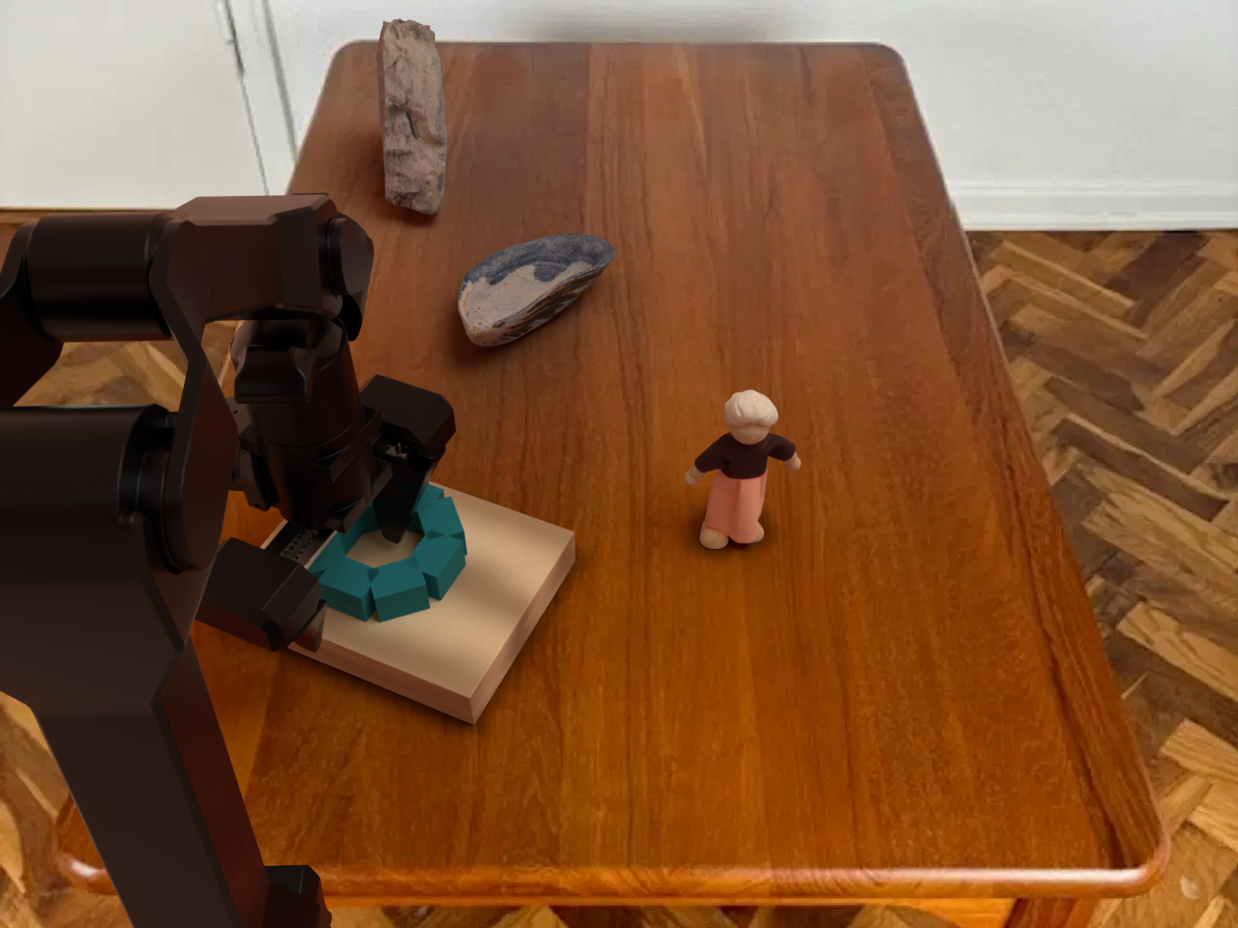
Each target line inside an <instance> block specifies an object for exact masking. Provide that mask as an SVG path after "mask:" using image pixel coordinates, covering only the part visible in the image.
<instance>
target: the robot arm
mask: <svg viewBox="0 0 1238 928" xmlns="http://www.w3.org/2000/svg"><path fill="white" fill-rule="evenodd" d="M374 261H375V246H374V243H373V239H372V238H371V237H370V236H369V235H368V233H367V231H366V230H365V229H364V228H363V227H362V226H361V224H359V222H357V221H356V220H354V219H353V218H351V217H350V216H348V215H347V214H345V213H342V212H340V211H338V209H337V205H336V204H335V201H333V200H332V199H331V197H329V193H328V192H292V193H291V194H275V195H274V194H269V195H218V196H217V195H213V196H210V195H205V196H196V197H194V198H192V199H190V200H188V201H187V202H184V203H183V204H181V205H179V206H177V207H176V208H175V210H174V211H172V214H170V213H169V212H167V211H164V210H163V211H162V210H159V211H157V210H156V211H153V210H152V211H105V212H103V211H100V212H99V211H98V212H97V211H95V212H94V211H93V212H50V213H47V214H45V215H43V216H40V217H39V219H38V220H37V221H27V222H25V223H22V224H21V225H18V227H17V228H16V230H15V233H14V234H13V236H12V237H11V240H10V243H9V246H8V249H7V252H6V255H5V258H4V260H3V263H2V266H1V269H0V692H1V693H3V694H5V695H6V696H9V697H10V698H12V699H14V700H16V701H18V702H20V703H22V704H23V705H25V706H27V708H29V709H30V711H31V713H32V715H33V717H34V719H35V722H36V724H37V726H38V728H39V730H40V732H41V734H42V737H43V739H44V741H45V743H46V745H47V747H48V749H49V751H50V754H51V756H52V758H53V760H54V763H55V764H56V766H57V768H58V771H59V773H60V775H61V778H62V780H63V782H64V784H65V786H66V788H67V791H68V793H69V795H70V797H71V800H72V801H73V803H74V805H75V807H76V809H77V812H78V814H79V816H80V819H81V820H82V822H83V825H84V827H85V829H86V832H87V833H88V835H89V838H90V840H91V843H92V844H93V846H94V848H95V851H96V853H97V855H98V857H99V859H100V861H101V863H102V866H103V868H104V870H105V872H106V874H107V877H108V878H109V880H110V881H109V882H110V883H111V885H112V887H113V889H114V892H115V893H116V896H117V898H118V900H119V902H120V904H121V906H122V909H123V911H124V913H125V916H126V917H127V920H128V923H129V924H130V927H131V928H332V926H331V924H332V922H333V921H332V920H333V913H332V912H331V911H330V910H328V906H327V904H326V901H325V900H326V899H325V897H324V890H323V884H322V879H321V876H320V875H319V874H318V873H317V872H316V871H315V869H313V868H312V867H311V866H310V865H309V864H281V865H279V864H278V865H275V864H274V865H265V863H264V861H263V857H262V854H261V851H260V849H259V844H258V842H257V838H256V836H255V832H254V829H253V825H252V822H251V819H250V816H249V813H248V810H247V808H246V807H247V806H246V803H245V801H244V797H243V795H242V792H241V789H240V785H239V783H238V779H237V776H236V773H235V770H234V766H233V764H232V760H231V758H230V754H229V750H228V748H227V745H226V742H225V741H226V740H225V739H224V736H223V735H224V734H223V732H222V730H221V726H220V723H219V719H218V717H217V714H216V711H215V708H214V703H213V701H212V698H211V695H210V692H209V688H208V686H207V683H206V678H205V676H204V673H203V669H202V666H201V663H200V661H199V657H198V654H197V651H196V648H195V645H194V642H193V638H192V636H191V635H192V634H191V631H192V627H193V625H194V622H195V621H197V622H199V623H202V624H204V625H207V626H209V627H210V628H211V627H212V628H214V629H216V630H219V631H221V632H223V633H226V634H228V635H230V636H233V637H236V638H238V639H240V640H243V641H245V642H247V643H250V644H251V645H254V646H256V647H260V648H262V649H264V650H266V651H269V652H272V653H273V652H276V651H281V650H284V649H288V648H287V647H288V646H289V645H290V644H291V642H295V643H296V644H297V645H299V646H300V647H301V648H303V649H306V650H308V651H311V652H313V653H316V652H317V651H318V650H319V648H320V644H321V640H322V635H323V628H324V621H325V615H326V608H327V601H326V600H324V599H321V598H320V595H321V589H320V586H319V582H318V580H317V579H316V578H315V577H314V576H313V575H312V574H311V573H310V572H309V571H308V570H307V569H308V568H309V567H310V565H311V564H312V563H313V562H314V560H315V559H316V558H317V557H318V556H319V554H320V553H321V552H322V551H323V549H324V548H325V547H326V546H327V544H328V543H329V542H330V541H331V540H332V538H333V537H334V536H335V535H336V533H337V532H338V531H339V532H341V533H344V534H346V533H347V532H348V530H349V529H350V528H351V527H352V525H353V524H354V523H355V522H356V520H357V519H358V518H359V517H360V515H361V514H362V513H363V512H364V510H365V509H366V508H367V507H368V505H369V504H370V503H371V502H372V504H373V508H374V512H375V515H376V519H377V522H378V525H379V527H380V530H381V532H382V534H383V537H384V538H385V539H386V540H387V541H390V542H392V543H395V544H399V543H400V541H401V540H402V538H403V536H404V534H405V532H406V530H407V527H408V525H409V523H410V521H411V519H412V517H413V514H414V512H415V510H416V508H417V506H418V504H419V502H420V500H421V497H422V495H423V493H424V491H425V489H426V487H427V485H428V483H429V481H431V479H432V477H433V475H434V473H435V471H436V470H437V467H438V465H439V463H440V461H441V459H442V458H443V457H444V455H445V454H446V450H447V444H448V443H449V442H450V440H451V439H452V438H453V437H454V435H455V434H456V433H457V426H456V425H457V424H456V419H455V412H454V411H455V410H454V409H453V406H452V404H451V403H450V402H449V401H448V400H447V399H446V398H445V397H444V396H443V395H442V394H441V393H439V392H435V391H432V390H429V389H426V388H423V387H420V386H417V385H414V384H411V383H407V382H405V381H401V380H398V379H396V378H393V377H389V376H386V375H382V374H378V373H376V374H375V375H373V376H372V377H369V379H367V380H366V381H364V382H363V384H362V385H361V386H360V387H359V383H358V379H357V376H356V375H357V374H356V371H355V370H356V369H355V365H354V362H353V361H354V360H353V355H352V352H351V346H350V342H355V341H356V340H357V338H358V337H359V335H360V332H361V330H362V326H363V321H364V315H365V311H366V305H367V299H368V294H369V288H370V283H371V278H372V277H371V276H372V272H373V265H374ZM233 321H235V322H238V321H243V323H242V324H241V325H240V326H239V327H238V328H237V330H236V332H235V334H234V335H233V337H232V339H231V342H230V345H229V354H230V355H229V356H230V359H231V362H232V365H233V369H234V372H235V376H234V379H233V396H229V397H225V394H224V392H223V390H222V387H221V386H220V383H219V381H218V378H217V376H216V375H215V372H214V370H213V367H212V366H211V363H210V361H209V359H208V356H207V355H206V354H207V353H206V352H205V350H204V348H203V346H202V342H203V337H204V332H205V327H206V325H207V324H210V323H215V322H233ZM169 341H170V342H173V341H174V343H175V345H176V347H177V350H178V352H179V353H180V354H179V355H180V356H181V358H182V360H183V363H184V364H185V366H186V373H185V378H184V382H183V386H182V393H181V397H180V402H179V406H178V410H176V411H171V410H169V409H168V408H167V407H165V406H162V405H160V404H158V403H157V402H155V403H113V404H112V403H110V404H109V403H107V404H106V403H105V404H104V403H103V404H65V405H63V404H62V405H61V404H59V405H54V404H53V405H16V404H17V403H18V402H19V401H20V400H21V399H22V398H23V397H25V395H26V394H27V393H28V392H29V391H30V390H31V389H32V388H34V386H35V385H36V384H37V383H38V382H39V381H41V379H42V378H43V377H44V376H45V375H47V373H48V372H49V371H50V370H51V369H52V368H53V367H54V366H55V365H56V364H57V362H58V360H59V359H60V357H61V355H62V352H63V348H64V345H65V344H66V343H68V344H69V343H114V342H115V343H117V342H121V343H122V342H169ZM230 491H232V492H243V493H244V495H245V499H246V502H247V505H248V507H251V508H254V509H257V510H259V511H262V512H264V513H268V511H270V509H272V508H275V509H278V512H279V514H280V516H281V517H282V518H283V520H284V519H285V520H287V521H288V522H287V523H286V524H285V526H284V527H283V528H282V529H281V530H280V531H279V533H278V534H277V535H276V536H275V537H274V538H273V540H272V541H271V542H270V543H269V544H268V545H267V547H266V548H265V549H262V548H260V547H261V546H258V545H257V546H256V545H254V544H251V543H250V542H246V541H244V540H241V539H239V538H236V537H234V536H231V537H228V538H227V539H225V540H224V541H222V542H221V540H222V539H221V538H222V534H223V527H224V522H225V516H226V511H227V505H228V499H229V493H230Z"/></svg>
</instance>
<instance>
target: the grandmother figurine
mask: <svg viewBox="0 0 1238 928" xmlns="http://www.w3.org/2000/svg"><path fill="white" fill-rule="evenodd" d="M778 419H779V413H778V410H777V408H776V405H774V403H773V402H772V401H771V399H770V398H769V397H768V396H766V395H764V394H763V393H761V392H758V391H756V390H754V389H747V390H744V391H740V392H739V391H738V392H735V393H733V394H732V395H731V397H730V398H729V399H728V400H727V401H726V402H725V404H724V421H725V423H726V424H727V425H728V429H729V432H726V433H724V434H722V435H721V436H720V437H719V438H718V439H716V440H715V441H714V442H712V443H711V445H709V446H708V447H707V448H705V449H704V450H703V451H702V452H701V453H700V454H699V455H698V456H697V457H695V458H694V461H693V463H692V465H691V466H690V468H689V470H688V471H687V472H686V473H685V474H684V476H683V480H684V483H685V484H686V485H687V486H688V487H689V486H690V487H694V486H696V485H698V483H699V482H700V479H703V478H704V476H705V475H706V474H707V473H708V472H712V471H716V472H715V476H714V479H713V483H712V485H711V489H710V492H709V495H708V499H707V506H706V513H705V517H704V521H703V522H702V525H701V529H700V533H699V542H700V544H701V545H702V546H703V547H705V548H707V549H710V550H720V549H723V548H725V547H726V546H727V544H728V543H729V538H730V539H731V540H732V541H734V542H735V543H739V544H755V543H758V542H760V541H762V540H763V538H764V536H765V532H764V528H763V527H762V525H761V523H759V518H760V517H761V515H762V511H763V507H764V506H763V505H764V501H765V495H766V487H767V486H766V485H767V480H768V479H767V478H768V473H769V471H768V461H769V457H770V458H772V459H775V460H778V461H781V462H783V463H784V466H785V468H786V470H788V471H790V472H796V471H798V470H800V468H801V465H802V462H801V459H800V458H799V457H798V454H797V452H796V451H797V445H796V444H795V442H793V441H791V440H788V439H787V438H786V437H784V436H782V435H780V434H776V433H772V432H769V431H770V428H771V427H772V426H774V425H775V424H776V423H777V422H778Z"/></svg>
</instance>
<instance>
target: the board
mask: <svg viewBox="0 0 1238 928" xmlns="http://www.w3.org/2000/svg"><path fill="white" fill-rule="evenodd" d="M428 484H430V485H433V486H436V487H439V488H441V489H443V490H444V496H445V498H446V497H449V496H451V497H452V499H453V502H454V505H455V507H456V510H457V513H458V515H459V518H460V521H461V523H462V526H463V529H464V532H465V539H466V547H467V555H465V561H466V565H465V567H464V568H463V570H462V571H461V573H460V574H459V576H458V577H457V578H456V580H455V581H454V583H453V584H452V586H451V587H450V588H449V590H448V591H447V593H446V594H445V596H444V597H443V599H442V600H441V601H440V600H437V599H434V598H432V597H429V596H428V597H429V603H430V608H429V609H425V610H422V611H419V612H415V613H412V614H408V615H405V616H401V617H398V618H394V619H391V620H387V621H384V622H379V619H378V615H377V612H376V610H375V611H374V613H373V614H372V615H371V617H370V618H369V619H368V621H367V622H365V621H363V620H360V619H358V618H355V617H353V616H350V615H348V614H345V613H343V612H340V611H338V610H335V609H333V608H330V607H328V606H327V608H326V615H325V621H324V628H323V635H322V640H321V644H320V648H319V650H318V651H317V652H316V653H313V652H311V651H308V650H306V649H303V648H301V647H300V646H299V645H297V644H296V643H295V642H291V644H290V645H289V646H288V647H287V648H286V649H289V650H291V651H294V652H296V653H299V654H301V655H303V656H306V657H309V658H310V659H313V660H316V661H318V662H320V663H323V664H325V665H327V666H330V667H333V668H335V669H337V670H340V671H342V672H345V673H347V674H350V675H352V676H354V677H357V678H359V679H362V680H364V681H366V682H369V683H371V684H373V685H376V686H378V687H381V688H383V689H386V690H388V691H390V692H393V693H395V694H398V695H400V696H403V697H404V698H407V699H410V700H412V701H414V702H417V703H419V704H422V705H425V706H426V707H429V708H432V709H434V710H436V711H439V712H440V713H443V714H446V715H449V716H451V717H453V718H455V719H457V720H461V721H463V722H465V723H468V724H469V725H472V726H475V725H476V723H477V721H478V720H479V718H480V717H481V715H482V713H483V712H484V710H485V708H486V707H487V705H488V704H489V702H490V701H491V699H492V697H493V695H494V694H495V693H496V691H497V689H498V687H499V686H500V684H501V683H502V681H503V679H504V678H505V676H506V675H507V673H508V671H509V670H510V668H511V666H512V664H513V663H514V661H515V660H516V658H517V657H518V655H519V653H520V652H521V650H522V648H523V647H524V645H525V643H526V642H527V640H528V639H529V638H530V635H531V634H532V632H533V630H534V629H535V627H536V626H537V624H538V623H539V621H540V620H541V618H542V616H543V614H545V611H546V609H547V608H548V606H549V605H550V603H551V601H552V600H553V598H554V597H555V595H556V593H557V592H558V590H559V588H560V587H561V586H562V584H563V582H564V580H565V579H566V577H567V575H568V574H569V572H570V571H571V570H572V568H573V566H574V564H575V562H576V559H577V558H576V557H577V556H576V555H577V554H576V532H575V531H574V530H570V529H568V528H565V527H563V526H559V525H557V524H554V523H550V522H547V521H545V520H542V519H540V518H537V517H534V516H530V515H528V514H525V513H522V512H519V511H517V510H513V509H510V508H509V507H505V506H503V505H499V504H496V503H494V502H491V501H488V500H485V499H482V498H479V497H477V496H473V495H471V494H468V493H465V492H462V491H460V490H457V489H454V488H451V487H448V486H445V485H443V484H441V483H438V482H437V483H436V482H434V481H431V480H430V481H429V483H428ZM287 522H288V521H287V520H285V519H284V518H283V520H282V521H281V522H280V523H279V524H278V525H277V527H276V528H275V529H274V530H273V531H272V533H270V534H269V536H268V537H267V538H266V539H265V541H264V542H263V543H262V544H261V545H260V546H259V547H260V548H262V549H265V548H266V547H267V545H268V544H269V543H270V542H271V541H272V540H273V538H274V537H275V536H276V535H277V534H278V533H279V531H280V530H281V529H282V528H283V527H284V526H285V524H286V523H287ZM421 540H422V536H421V535H419V534H416V533H413V532H411V531H408V530H406V532H405V534H404V536H403V538H402V540H401V541H400V543H399V544H395V543H392V542H390V541H387V540H386V539H385V538H384V537H383V534H382V532H381V530H380V529H379V530H375V531H371V532H368V533H364V534H362V536H361V537H360V538H359V539H358V541H357V542H356V543H355V544H354V546H353V547H352V548H351V550H350V551H349V552H348V553H347V555H346V557H347V558H350V559H352V560H355V561H358V562H360V563H363V564H366V565H368V566H371V567H373V568H375V567H378V566H382V565H386V564H389V563H393V562H396V561H400V560H404V559H407V558H409V556H410V555H411V553H412V552H413V551H414V549H415V548H416V547H417V545H418V544H419V543H420V541H421ZM307 570H308V569H307ZM320 598H321V596H320ZM321 599H322V598H321Z"/></svg>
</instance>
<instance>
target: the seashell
mask: <svg viewBox="0 0 1238 928" xmlns="http://www.w3.org/2000/svg"><path fill="white" fill-rule="evenodd" d="M615 256H616V249H615V246H614V245H613V244H612V243H611V242H609V240H607V239H604V238H602V237H600V236H597V235H594V234H589V233H588V234H587V233H569V232H567V233H555V234H550V235H546V236H544V237H540V238H536V239H532V240H528V241H525V242H522V243H518V244H514V245H512V246H509V247H506V248H502V249H500V250H498V251H495V252H494V253H493V254H491V255H489V256H487V257H485V258H484V259H482V260H481V261H479V262H478V263H476V264H475V265H474V266H473V267H471V269H470V270H469V271H467V272H466V274H465V275H464V276H463V279H462V281H461V283H460V286H459V292H458V294H457V295H458V296H457V301H456V302H457V311H458V313H459V317H460V318H461V321H462V325H463V327H464V330H465V334H466V335H467V337H468V339H469V340H470V342H471V343H473V344H475V345H477V346H479V347H493V346H500V345H504V344H507V343H510V342H513V341H515V340H518V339H519V338H522V337H523V336H524V335H526V334H527V333H530V332H531V331H533V330H535V329H536V328H539V327H540V326H542V325H544V324H545V323H547V322H549V321H550V320H551V319H553V318H554V317H555V316H556V315H558V314H559V313H560V312H561V311H563V310H564V309H565V308H567V307H568V306H569V305H571V304H572V303H573V302H574V301H575V300H577V299H578V298H579V297H580V296H581V294H583V292H584V291H585V290H586V289H588V288H589V287H591V285H592V284H593V283H595V281H596V280H598V278H599V277H600V276H602V274H603V272H604V271H605V270H606V268H608V266H609V265H610V264H611V263H612V262H613V260H614V258H615Z"/></svg>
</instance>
